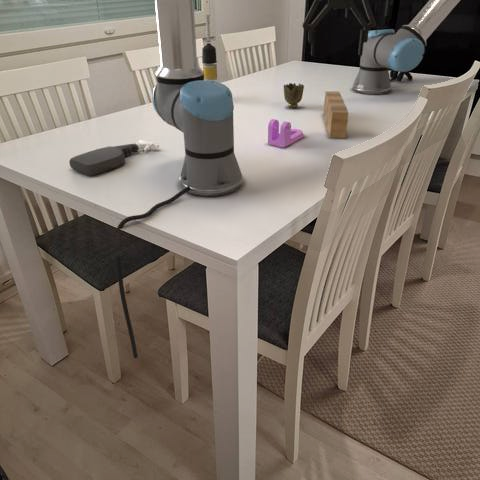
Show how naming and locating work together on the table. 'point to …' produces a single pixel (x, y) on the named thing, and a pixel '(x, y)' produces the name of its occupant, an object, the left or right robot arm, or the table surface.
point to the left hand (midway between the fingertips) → (336, 55)
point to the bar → (335, 114)
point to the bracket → (282, 134)
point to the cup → (293, 94)
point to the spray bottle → (106, 157)
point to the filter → (209, 57)
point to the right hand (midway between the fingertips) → (366, 16)
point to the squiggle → (400, 75)
